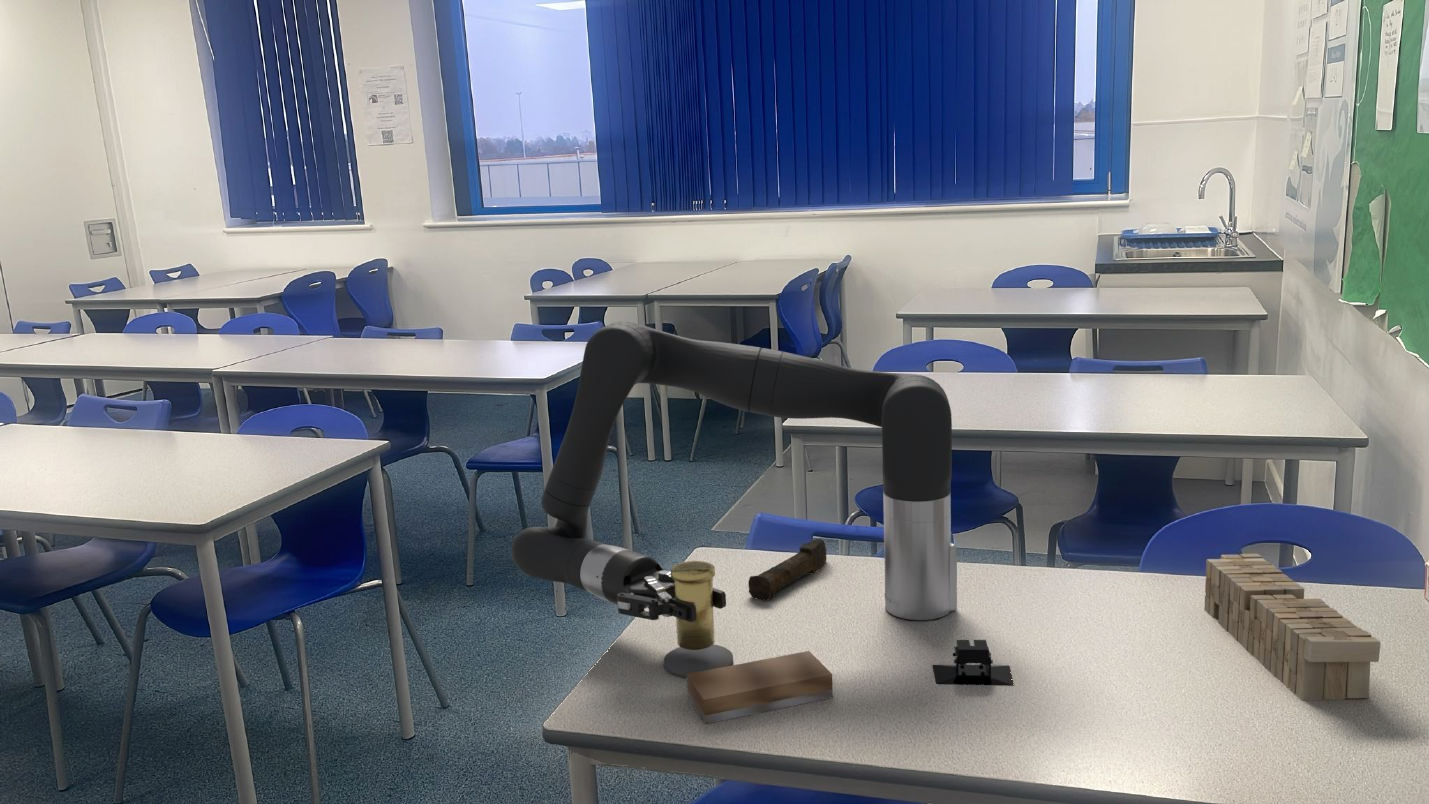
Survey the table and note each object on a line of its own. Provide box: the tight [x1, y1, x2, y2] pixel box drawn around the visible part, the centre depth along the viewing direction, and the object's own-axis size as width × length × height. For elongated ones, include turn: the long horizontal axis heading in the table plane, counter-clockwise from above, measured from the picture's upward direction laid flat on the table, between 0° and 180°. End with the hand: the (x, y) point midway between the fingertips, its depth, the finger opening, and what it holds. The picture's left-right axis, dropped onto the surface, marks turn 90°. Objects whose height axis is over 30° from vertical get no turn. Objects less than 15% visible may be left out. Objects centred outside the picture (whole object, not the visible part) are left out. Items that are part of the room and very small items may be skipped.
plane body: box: [686, 650, 834, 725], centre depth 128 cm, size 16×7×3 cm, turn 108°
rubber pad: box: [663, 643, 734, 679], centre depth 138 cm, size 9×9×1 cm
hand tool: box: [748, 538, 827, 601], centre depth 164 cm, size 19×4×5 cm, turn 140°
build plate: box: [931, 639, 1015, 687], centre depth 131 cm, size 12×7×5 cm, turn 82°
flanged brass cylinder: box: [670, 560, 716, 650], centre depth 137 cm, size 6×6×10 cm
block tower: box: [1203, 553, 1382, 701], centre depth 133 cm, size 8×8×29 cm
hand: (709, 607), depth 135 cm, fingers closed on flanged brass cylinder, 4 cm apart
